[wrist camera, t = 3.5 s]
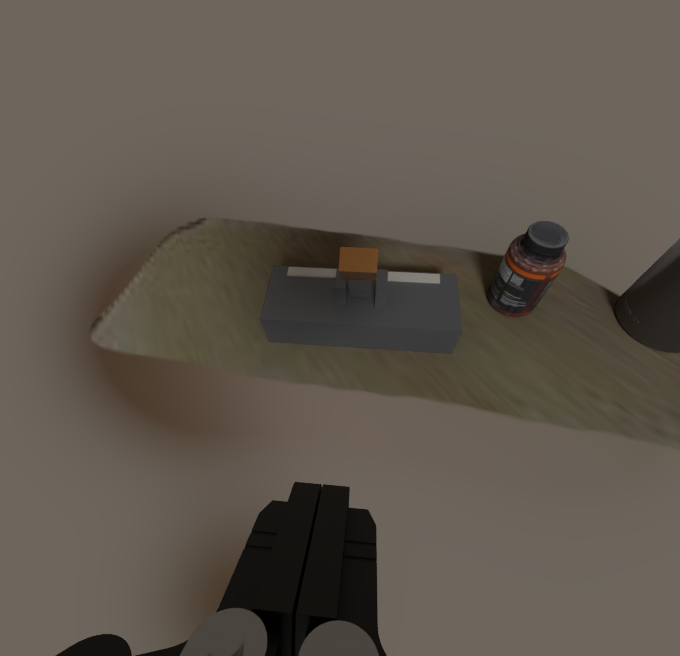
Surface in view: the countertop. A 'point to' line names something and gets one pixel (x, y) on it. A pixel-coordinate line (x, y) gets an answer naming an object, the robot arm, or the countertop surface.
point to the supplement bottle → (528, 269)
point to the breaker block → (363, 310)
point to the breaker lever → (358, 269)
